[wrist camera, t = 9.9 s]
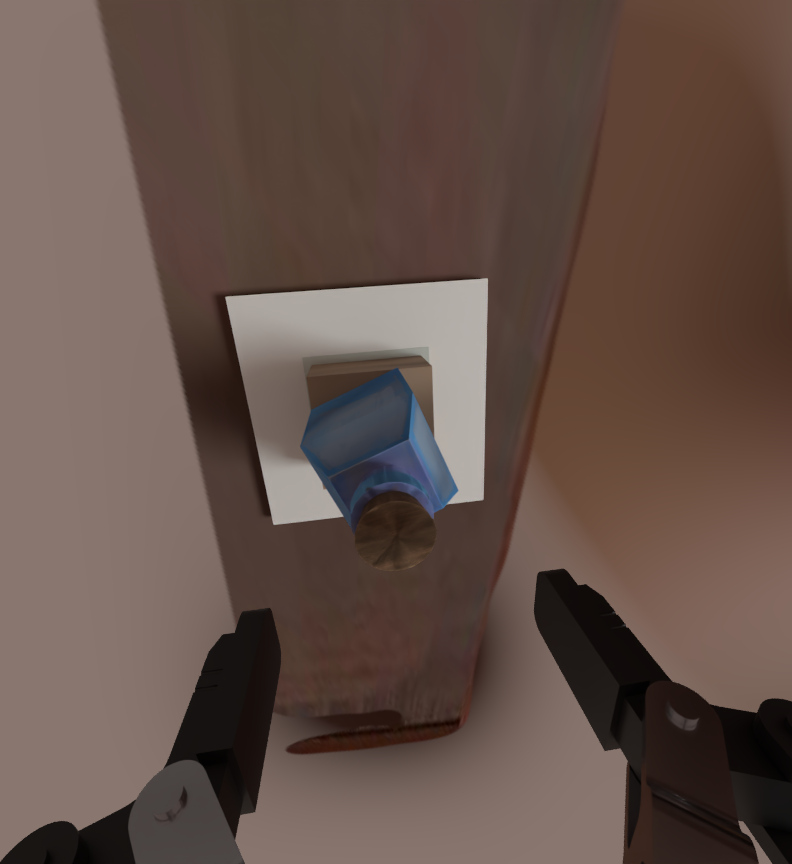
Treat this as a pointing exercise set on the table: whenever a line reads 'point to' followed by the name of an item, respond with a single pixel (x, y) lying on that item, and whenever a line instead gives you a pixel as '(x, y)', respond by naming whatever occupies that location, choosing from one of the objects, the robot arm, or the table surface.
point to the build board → (358, 341)
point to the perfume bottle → (381, 469)
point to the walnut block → (349, 375)
